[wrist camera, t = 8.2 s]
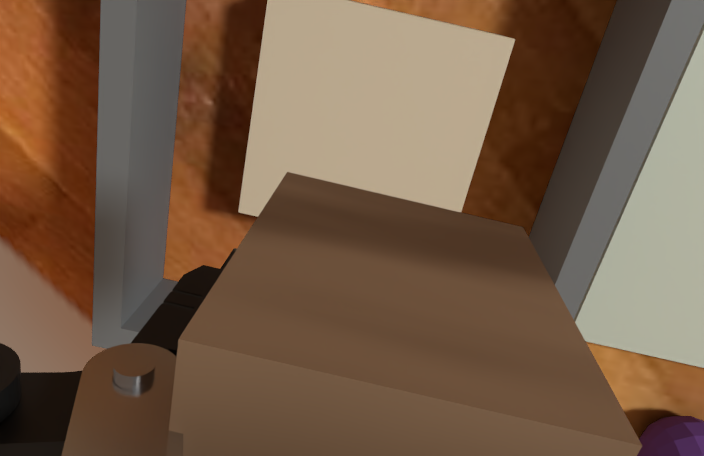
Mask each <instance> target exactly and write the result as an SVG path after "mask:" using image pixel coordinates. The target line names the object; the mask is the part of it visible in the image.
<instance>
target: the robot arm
mask: <svg viewBox="0 0 704 456" xmlns="http://www.w3.org/2000/svg"><path fill="white" fill-rule="evenodd" d="M236 250H237V249H236V248H235V249H233V251H232V252H231V254H230V255H229V257H228V258H227V260H226V261H225V263H224V264H223V266H222V267H221V269H218V268H213V267H209V266H205V265H203V266H201V267H199V268H197V269H195V270H193V271H191V272H188V273H186V274H184V275H183V277H182V278H181V279H180V280H179V282H178V283H177V284H176V285H175V287H174V288H173V291H172V292H170V293H169V294H168V296H167V297H166V298H165V300H164V302H163V304H162V303H161V305H160V306H159V307H158V309H157V310H156V311H155V312H154V314H153V315H152V316H151V318H150V319H149V320H148V321H147V323H146V324H145V325H144V326H143V328H142V329H141V330H140V332H139V333H138V334H137V335H136V337H135V338H134V339H133V341H132V342H131V343H129V344H122V345H118V346H114V347H111V348H108V349H106V350H103V351H102V352H100V353H98V354H96V355H95V356H94V357H92V358H91V359H90V360H89V361H88V362H87V364H86V365H85V367H84V368H83V371H77V372H64V373H21V369H20V360H19V357H18V355H17V354H16V352H15V351H13V350H12V349H11V348H9V347H7V346H5V345H3V344H0V456H183V434H182V433H178V432H173V431H169V423H170V414H171V405H172V395H173V386H174V377H175V367H176V358H177V349H178V340H179V338H180V336H181V335H182V333H183V331H184V330H185V328H186V327H187V325H188V324H189V322H190V321H191V319H192V318H193V316H194V315H195V313H196V311H197V310H198V308H199V307H200V305H201V304H202V302H203V301H204V299H205V298H206V296H207V295H208V293H209V291H210V290H211V288H212V287H213V285H214V284H215V282H216V281H217V279H218V278H219V276H220V274H221V273H222V271H223V270H224V268H225V267H226V265H227V264H228V262H229V261H230V259H231V258H232V256H233V254H234V253H235V251H236Z"/></svg>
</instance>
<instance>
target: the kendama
mask: <svg viewBox="0 0 704 456" xmlns="http://www.w3.org/2000/svg"><path fill="white" fill-rule="evenodd" d="M639 441H640V442H641V444H642V448H641V449H640V451H639V453H638V454H637V456H704V421H702V420H699V419H697V418H694V417H692V416H671V417H664V418H662V419H660V420H658V421H656V422H654V423H652V424H650V425H649V426H648V427H647V428H646V430H645V431H644V432H643V434H642V435H641V437H640V439H639Z"/></svg>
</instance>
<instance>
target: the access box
mask: <svg viewBox="0 0 704 456" xmlns="http://www.w3.org/2000/svg"><path fill="white" fill-rule="evenodd" d="M185 9H186V0H101V14H100V52H99V91H98V130H97V169H96V208H95V246H94V285H93V324H92V345H93V346H97V347H102V348H106V349H108V348H111V347H114V346H118V345H122V344H129V343H131V342H132V341H133V339H134V338H135V337H136V335H137V334H138V333H139V332H140V330H141V329H142V328H143V326H144V325H145V324H146V323H147V321H148V320H149V319H150V318H151V316H152V315H153V314H154V312H155V311H156V310H157V309H158V307H159V306H160V305H161V303H162V304H163V302H164V300H165V298H166V297H167V296H168V294H169V293H170V292H172V291H173V288H174V287H175V285H176V284H177V283H178V282H177V281H172V280H168V279H163V273H164V261H165V249H166V237H167V225H168V213H169V201H170V189H171V177H172V165H173V153H174V141H175V129H176V117H177V105H178V93H179V81H180V69H181V57H182V45H183V33H184V21H185ZM703 23H704V0H617V2H616V5H615V7H614V10H613V13H612V15H611V18H610V21H609V23H608V26H607V29H606V31H605V34H604V37H603V39H602V42H601V45H600V48H599V50H598V53H597V56H596V58H595V61H594V64H593V66H592V69H591V72H590V74H589V77H588V80H587V82H586V85H585V88H584V90H583V93H582V96H581V98H580V101H579V104H578V106H577V109H576V112H575V114H574V117H573V120H572V122H571V125H570V128H569V131H568V133H567V136H566V139H565V141H564V144H563V147H562V149H561V152H560V155H559V157H558V160H557V163H556V165H555V168H554V171H553V173H552V176H551V179H550V181H549V184H548V187H547V189H546V192H545V195H544V197H543V200H542V203H541V205H540V208H539V211H538V214H537V216H536V219H535V222H534V224H533V227H532V230H531V232H530V235H529V239H530V241H531V243H532V244H533V246H534V248H535V250H536V252H537V254H538V255H539V257H540V259H541V261H542V263H543V265H544V266H545V268H546V270H547V272H548V274H549V276H550V277H551V279H552V281H553V283H554V285H555V287H556V288H557V290H558V292H559V294H560V296H561V298H562V299H563V301H564V303H565V305H566V307H567V309H568V310H569V312H570V314H571V316H572V318H573V320H574V318H575V315H576V313H577V311H578V308H579V306H580V304H581V302H582V299H583V297H584V295H585V292H586V290H587V288H588V286H589V283H590V281H591V279H592V276H593V274H594V272H595V270H596V267H597V265H598V263H599V261H600V258H601V256H602V254H603V251H604V249H605V247H606V245H607V242H608V240H609V238H610V235H611V233H612V231H613V229H614V226H615V224H616V222H617V219H618V217H619V215H620V213H621V210H622V208H623V206H624V204H625V201H626V199H627V197H628V194H629V192H630V190H631V188H632V185H633V183H634V181H635V178H636V176H637V174H638V172H639V169H640V167H641V165H642V162H643V160H644V158H645V156H646V153H647V151H648V149H649V146H650V144H651V142H652V140H653V137H654V135H655V133H656V131H657V128H658V126H659V124H660V121H661V119H662V117H663V115H664V112H665V110H666V108H667V105H668V103H669V101H670V99H671V96H672V94H673V92H674V89H675V87H676V85H677V83H678V80H679V78H680V76H681V73H682V71H683V69H684V67H685V64H686V62H687V60H688V58H689V55H690V53H691V51H692V48H693V46H694V44H695V42H696V39H697V37H698V35H699V32H700V30H701V28H702V26H703ZM514 42H515V39H513V38H510V37H506V36H503V35H498V34H494V33H490V32H485V31H481V30H477V29H472V28H468V27H464V26H459V25H455V24H451V23H446V22H442V21H438V20H433V19H429V18H425V17H420V16H416V15H412V14H407V13H403V12H399V11H394V10H390V9H385V8H381V7H377V6H372V5H368V4H364V3H359V2H355V1H351V0H267V7H266V15H265V22H264V29H263V36H262V44H261V51H260V58H259V65H258V73H257V80H256V87H255V94H254V102H253V109H252V116H251V123H250V131H249V138H248V145H247V152H246V160H245V167H244V174H243V181H242V188H241V196H240V203H239V210H238V212H239V213H244V214H248V215H252V216H257V217H258V216H259V214H260V213H261V211H262V210H263V208H264V207H265V205H266V204H267V202H268V201H269V199H270V198H271V196H272V194H273V193H274V191H275V190H276V188H277V187H278V185H279V184H280V182H281V181H282V179H283V178H284V176H285V174H286V173H287V172H290V173H295V174H299V175H303V176H307V177H312V178H316V179H320V180H324V181H329V182H333V183H337V184H342V185H346V186H350V187H354V188H359V189H363V190H367V191H371V192H376V193H380V194H384V195H388V196H393V197H397V198H401V199H406V200H410V201H414V202H418V203H423V204H427V205H431V206H435V207H440V208H444V209H448V210H452V211H457V212H461V211H462V208H463V205H464V202H465V199H466V195H467V192H468V189H469V186H470V183H471V179H472V176H473V173H474V170H475V167H476V164H477V160H478V157H479V154H480V151H481V148H482V144H483V141H484V138H485V135H486V132H487V128H488V125H489V122H490V119H491V116H492V112H493V109H494V106H495V103H496V100H497V96H498V93H499V90H500V87H501V84H502V80H503V77H504V74H505V71H506V68H507V65H508V61H509V58H510V55H511V52H512V49H513V45H514Z"/></svg>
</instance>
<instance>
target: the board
mask: <svg viewBox="0 0 704 456" xmlns="http://www.w3.org/2000/svg"><path fill="white" fill-rule="evenodd" d="M574 321H575V323H576V325H577V327H578V329H579V331H580V332H581V334H582V336H583V338H584V340H585V341H587V342H591V343H595V344H600V345H604V346H609V347H613V348H618V349H622V350H627V351H631V352H635V353H640V354H644V355H649V356H653V357H658V358H662V359H667V360H671V361H675V362H680V363H684V364H689V365H693V366H698V367H702V368H704V23H703V26H702V28H701V30H700V32H699V35H698V37H697V39H696V42H695V44H694V46H693V48H692V51H691V53H690V55H689V58H688V60H687V62H686V64H685V67H684V69H683V71H682V73H681V76H680V78H679V80H678V83H677V85H676V87H675V89H674V92H673V94H672V96H671V99H670V101H669V103H668V105H667V108H666V110H665V112H664V115H663V117H662V119H661V121H660V124H659V126H658V128H657V131H656V133H655V135H654V137H653V140H652V142H651V144H650V146H649V149H648V151H647V153H646V156H645V158H644V160H643V162H642V165H641V167H640V169H639V172H638V174H637V176H636V178H635V181H634V183H633V185H632V188H631V190H630V192H629V194H628V197H627V199H626V201H625V204H624V206H623V208H622V210H621V213H620V215H619V217H618V219H617V222H616V224H615V226H614V229H613V231H612V233H611V235H610V238H609V240H608V242H607V245H606V247H605V249H604V251H603V254H602V256H601V258H600V261H599V263H598V265H597V267H596V270H595V272H594V274H593V276H592V279H591V281H590V283H589V286H588V288H587V290H586V292H585V295H584V297H583V299H582V302H581V304H580V306H579V308H578V311H577V313H576V315H575V318H574Z"/></svg>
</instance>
